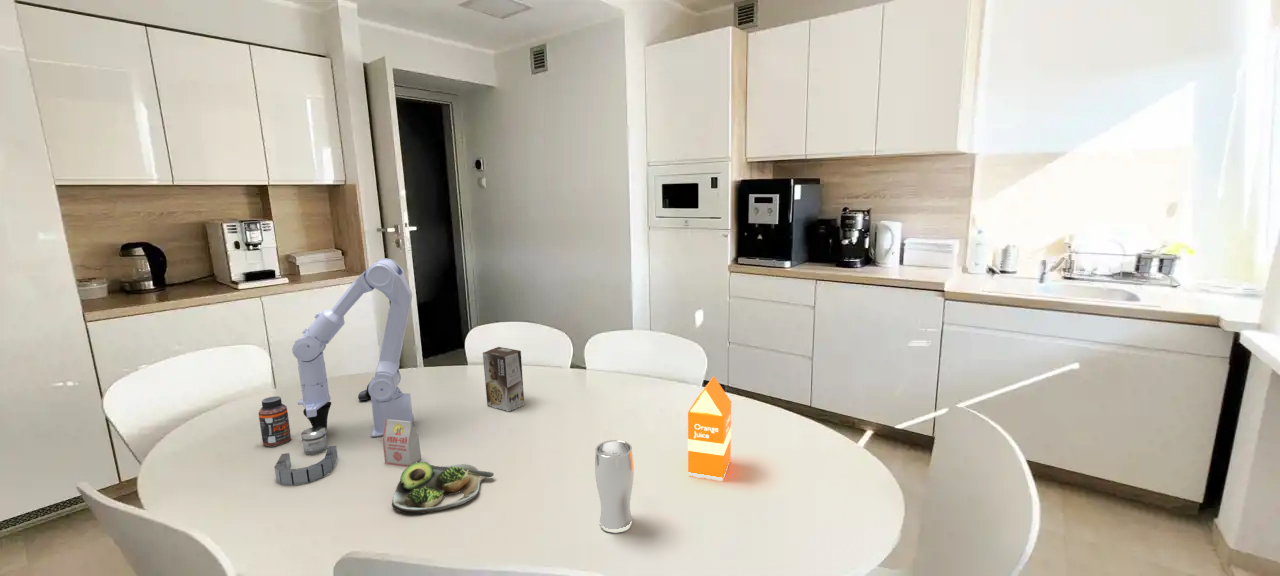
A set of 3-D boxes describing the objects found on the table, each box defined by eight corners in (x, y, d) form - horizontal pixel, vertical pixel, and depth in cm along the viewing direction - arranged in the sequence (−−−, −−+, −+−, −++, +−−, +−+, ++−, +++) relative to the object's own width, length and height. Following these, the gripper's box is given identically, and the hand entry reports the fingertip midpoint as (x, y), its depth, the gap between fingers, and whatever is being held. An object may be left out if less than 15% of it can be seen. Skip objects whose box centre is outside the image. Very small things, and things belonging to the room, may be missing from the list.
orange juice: (731, 462, 124) (732, 376, 120) (723, 482, 115) (724, 391, 112) (696, 457, 126) (696, 373, 122) (687, 476, 118) (686, 387, 114)
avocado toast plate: (495, 463, 126) (493, 444, 125) (492, 506, 109) (491, 485, 108) (404, 474, 122) (402, 455, 121) (387, 521, 105) (384, 499, 104)
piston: (329, 444, 136) (327, 425, 136) (326, 453, 132) (323, 433, 131) (306, 447, 135) (303, 428, 134) (301, 457, 130) (298, 437, 129)
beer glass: (596, 513, 105) (594, 440, 102) (633, 511, 106) (631, 438, 103) (597, 536, 98) (594, 458, 96) (636, 534, 99) (634, 456, 96)
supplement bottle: (277, 448, 135) (270, 404, 133) (257, 446, 136) (249, 403, 134) (297, 437, 140) (291, 395, 138) (277, 435, 142) (270, 393, 140)
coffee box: (525, 404, 158) (522, 350, 155) (509, 412, 153) (505, 356, 150) (502, 398, 163) (499, 345, 160) (486, 406, 158) (481, 351, 155)
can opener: (380, 402, 163) (378, 384, 162) (355, 404, 162) (353, 385, 161) (398, 381, 180) (396, 365, 179) (375, 382, 179) (373, 366, 178)
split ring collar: (337, 457, 130) (336, 445, 129) (330, 479, 120) (328, 466, 119) (283, 466, 126) (281, 454, 125) (271, 489, 116) (269, 476, 116)
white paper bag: (396, 456, 130) (391, 415, 128) (421, 459, 128) (416, 418, 126) (385, 463, 126) (380, 422, 124) (410, 466, 125) (406, 425, 123)
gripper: (301, 375, 143) (308, 424, 145) (288, 394, 129) (296, 448, 132) (332, 371, 145) (339, 419, 148) (322, 390, 132) (329, 443, 134)
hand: (321, 433), depth 140 cm, fingers closed
